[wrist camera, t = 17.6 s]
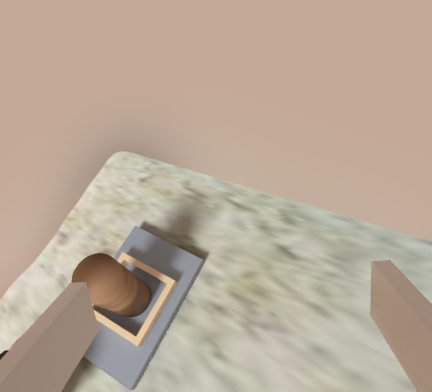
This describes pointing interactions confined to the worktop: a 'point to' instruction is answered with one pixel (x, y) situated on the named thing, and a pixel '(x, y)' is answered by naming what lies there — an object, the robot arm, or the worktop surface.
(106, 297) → the post
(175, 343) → the worktop surface
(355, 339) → the worktop surface
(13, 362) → the robot arm
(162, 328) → the board
